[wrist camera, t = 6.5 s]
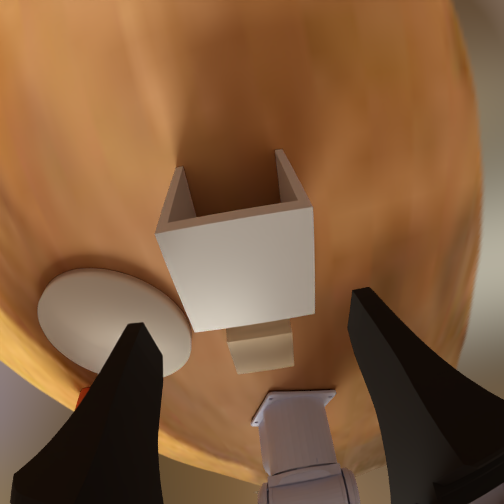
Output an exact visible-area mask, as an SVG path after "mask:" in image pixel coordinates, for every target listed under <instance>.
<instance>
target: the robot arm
mask: <svg viewBox="0 0 504 504" xmlns="http://www.w3.org/2000/svg"><path fill="white" fill-rule="evenodd" d="M347 328H348V332H349V336H350V340H351V344H352V347H353V351H354V354H355V357H356V360H357V362H358V365H359V367H360V370H361V373H362V375H363V378H364V380H365V383H366V385H367V388H368V391H369V393H370V396H371V399H372V401H373V404H374V407H375V410H376V414H377V418H378V422H379V426H380V430H381V435H382V440H383V445H384V450H385V455H386V462H387V468H388V475H389V484H390V493H391V504H504V400H503V399H501V398H500V397H498V396H496V395H494V394H492V393H491V392H489V391H487V390H486V389H484V388H482V387H481V386H479V385H478V384H476V383H475V382H473V381H471V380H470V379H469V378H467V377H466V376H464V375H463V374H461V373H460V372H459V371H457V370H456V369H455V368H453V367H452V366H451V365H449V364H448V363H447V362H446V361H444V360H443V359H442V358H441V357H440V356H438V355H437V354H436V353H435V352H434V351H433V350H431V349H430V348H429V347H428V346H427V345H426V344H425V343H424V342H423V341H422V340H421V339H419V338H418V337H417V336H416V335H415V334H414V333H413V332H412V331H411V330H410V329H409V328H408V327H407V326H406V325H405V324H404V323H403V322H402V321H401V320H400V319H399V318H398V317H397V316H396V315H395V314H394V313H393V311H392V310H391V309H390V308H389V307H388V306H387V305H386V304H385V303H384V302H383V301H382V300H381V299H380V298H379V297H378V295H377V294H376V293H375V292H374V291H373V290H372V289H371V288H370V287H366V288H361V289H356V290H352V298H351V305H350V313H349V320H348V327H347ZM162 388H163V355H162V353H161V351H160V350H159V348H158V346H157V345H156V343H155V341H154V340H153V338H152V336H151V335H150V333H149V331H148V329H147V328H146V326H145V324H144V322H139V323H129V324H127V326H126V328H125V329H124V331H123V333H122V334H121V336H120V338H119V339H118V341H117V343H116V345H115V346H114V348H113V350H112V352H111V354H110V355H109V357H108V359H107V360H106V362H105V364H104V366H103V367H102V369H101V371H100V372H99V374H98V376H97V378H96V379H95V381H94V382H93V384H92V385H91V387H90V389H89V390H88V392H87V393H86V395H85V397H84V398H83V400H82V401H81V403H80V404H79V405H78V407H77V408H76V410H75V411H74V412H73V414H72V415H71V417H70V418H69V419H68V420H67V422H66V423H65V424H64V425H63V427H62V428H61V429H60V430H59V431H58V433H57V434H56V435H55V436H54V437H53V438H52V440H51V441H50V442H49V443H48V444H47V445H46V446H45V447H44V448H43V449H42V450H41V451H40V452H39V453H38V454H37V455H36V456H35V457H34V458H33V459H32V460H30V461H29V462H28V463H27V464H26V465H25V466H24V467H22V468H21V469H20V470H19V471H17V472H16V473H15V474H14V476H13V483H12V490H11V500H10V503H11V504H163V497H162V490H161V482H160V472H159V458H158V430H159V418H160V408H161V398H162ZM335 395H336V390H321V391H291V392H270V393H268V394H267V396H266V398H265V400H264V401H263V403H262V405H261V406H260V408H259V410H258V411H257V413H256V415H255V417H254V418H253V420H252V422H251V426H258V427H259V436H260V445H261V453H262V462H263V466H264V469H265V471H266V472H267V473H268V474H269V475H270V476H268V477H267V478H268V483H263V484H262V486H261V487H260V489H259V491H258V504H360V498H359V492H358V487H357V483H356V480H355V477H354V474H353V472H352V471H351V470H349V469H347V468H346V467H345V468H340V463H337V460H336V455H335V451H334V446H333V442H332V437H331V433H330V428H329V424H328V420H327V415H326V411H325V406H326V405H327V404H328V402H329V401H330V400H331V399H332V398H333V397H334V396H335Z"/></svg>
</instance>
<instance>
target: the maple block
mask: <svg viewBox="0 0 504 504" xmlns="http://www.w3.org/2000/svg"><path fill="white" fill-rule="evenodd" d="M226 333H227V344H228V347H229V350H230V353H231V356H232V359H233V362H234V365H235V368H236V371H237V373H238V374H245V373H252V372H260V371H266V370H273V369H279V368H286V367H292V366H294V353H293V336H292V329H291V324H290V320H289V318H288V319H282V320H276V321H270V322H264V323H258V324H252V325H245V326H238V327H232V328H226Z"/></svg>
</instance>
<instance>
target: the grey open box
mask: <svg viewBox="0 0 504 504" xmlns="http://www.w3.org/2000/svg"><path fill="white" fill-rule="evenodd" d="M275 156H276V165H277V174H278V182H279V191H280V201H281V203H278V204H272V205H265V206H259V207H253V208H247V209H241V210H235V211H229V212H224V213H218V214H212V215H207V216H201V217H196V213H195V209H194V206H193V202H192V198H191V194H190V191H189V187H188V183H187V179H186V175H185V172H184V168H183V166H182V167H177V168H176V169H175V171H174V174H173V177H172V180H171V183H170V186H169V189H168V192H167V196H166V199H165V202H164V205H163V208H162V211H161V215H160V218H159V221H158V224H157V228H156V231H155V236H156V239H157V241H158V244H159V247H160V249H161V252H162V254H163V257H164V260H165V262H166V265H167V267H168V270H169V272H170V275H171V277H172V280H173V282H174V285H175V287H176V290H177V292H178V294H179V297H180V299H181V301H182V304H183V306H184V309H185V311H186V313H187V316H188V318H189V320H190V322H191V325H192V327H193V329H194V331H195V332H202V331H210V330H217V329H225V328H232V327H238V326H245V325H252V324H258V323H264V322H270V321H276V320H282V319H288V318H294V317H299V316H305V315H310V314H315V257H314V221H313V206H312V204H311V202H310V200H309V198H308V196H307V194H306V192H305V190H304V188H303V187H302V185H301V183H300V181H299V179H298V177H297V175H296V173H295V171H294V170H293V168H292V166H291V164H290V162H289V160H288V158H287V157H286V155H285V153H284V151H283V149H279V150H275Z"/></svg>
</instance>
